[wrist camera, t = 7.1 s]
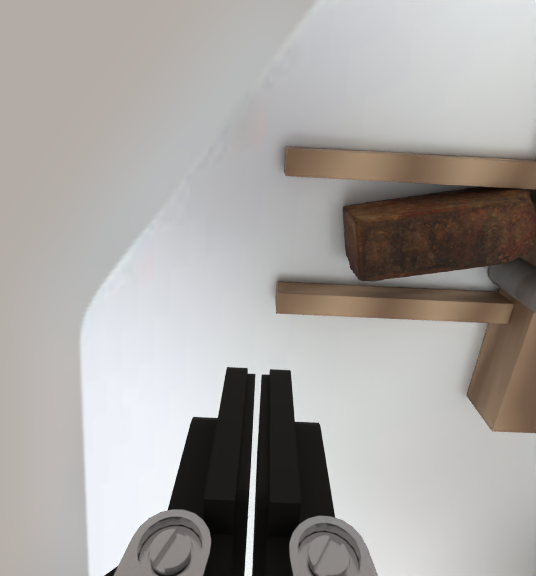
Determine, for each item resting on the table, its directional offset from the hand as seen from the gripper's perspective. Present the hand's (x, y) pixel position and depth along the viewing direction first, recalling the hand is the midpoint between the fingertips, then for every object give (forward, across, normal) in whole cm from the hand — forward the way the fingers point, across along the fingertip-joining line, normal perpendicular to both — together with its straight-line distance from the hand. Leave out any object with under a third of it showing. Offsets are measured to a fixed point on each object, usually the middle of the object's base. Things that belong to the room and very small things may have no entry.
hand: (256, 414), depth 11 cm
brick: (+18, -10, -1) cm, 21 cm away
